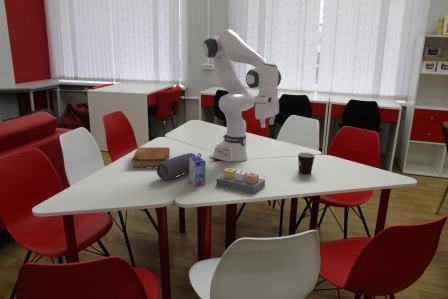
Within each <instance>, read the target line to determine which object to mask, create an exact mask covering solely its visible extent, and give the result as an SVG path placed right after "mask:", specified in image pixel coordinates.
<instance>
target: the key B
mask: <svg viewBox="0 0 448 299" xmlns="http://www.w3.org/2000/svg"><path fill="white" fill-rule="evenodd" d="M247 174H248V171H247V170H246V171H245V170H242V169H241V170H240V169H239V170H236V172H235V180H238V181H242V182H243V181H245V180H246V175H247Z"/></svg>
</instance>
